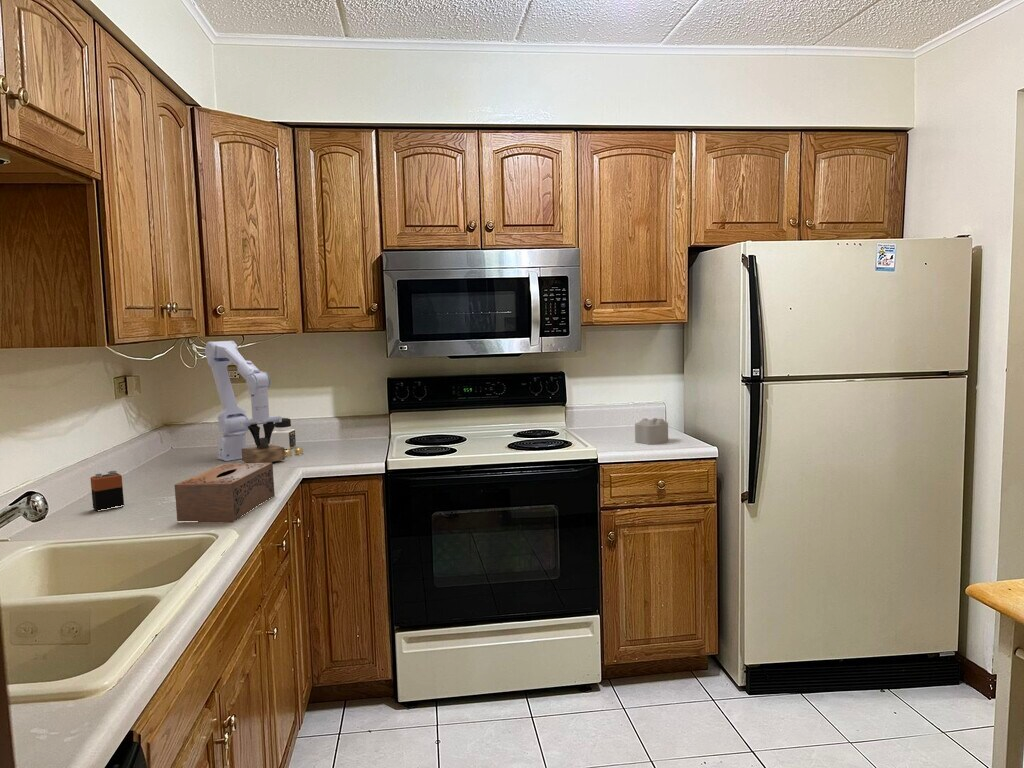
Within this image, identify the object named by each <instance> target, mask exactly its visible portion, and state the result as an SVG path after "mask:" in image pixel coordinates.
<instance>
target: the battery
mask: <svg viewBox="0 0 1024 768" xmlns="http://www.w3.org/2000/svg"><path fill="white" fill-rule="evenodd" d="M89 479H90V488H91V489H90V491H91V500H92V508H94V509H93V510H95V509H96V510H101V509H107V508H111V507H115V506H121V505H124V506H125V498H124V487H123V477H122V474H120V473H118V471H117V470H109V471H107V474H102V473H100V472H99V473H95V474H94V476H91V477H90V478H89ZM96 510H95V511H96Z"/></svg>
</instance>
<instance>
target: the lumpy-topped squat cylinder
mask: <svg viewBox="0 0 1024 768" xmlns="http://www.w3.org/2000/svg"><path fill="white" fill-rule="evenodd" d="M634 442H635V444H642V445H648V446H654V445H662V444H665V443H666V444H667V443H668V442H669V422H668V421H665V420H664V419H663V418H656V417H654V418H651V419H648V418H642V419H641V420H639V421H638V422H635V423H634Z"/></svg>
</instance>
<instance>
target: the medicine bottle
mask: <svg viewBox="0 0 1024 768" xmlns="http://www.w3.org/2000/svg"><path fill="white" fill-rule="evenodd" d="M274 424H275V427H274V429H275V430H273V431H272V434H271V444H272V445H276V446H280V447H284V449H289V450H292V449H294V448H296V446H297V444H296V429H295V428H292V421H291V419H290V418H288V417H282V422H275V423H274ZM291 448H292V449H291Z"/></svg>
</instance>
